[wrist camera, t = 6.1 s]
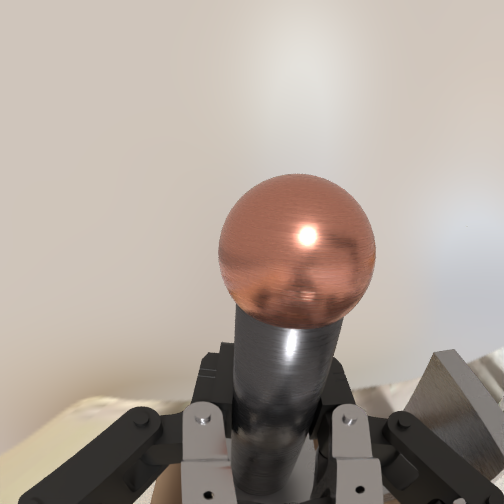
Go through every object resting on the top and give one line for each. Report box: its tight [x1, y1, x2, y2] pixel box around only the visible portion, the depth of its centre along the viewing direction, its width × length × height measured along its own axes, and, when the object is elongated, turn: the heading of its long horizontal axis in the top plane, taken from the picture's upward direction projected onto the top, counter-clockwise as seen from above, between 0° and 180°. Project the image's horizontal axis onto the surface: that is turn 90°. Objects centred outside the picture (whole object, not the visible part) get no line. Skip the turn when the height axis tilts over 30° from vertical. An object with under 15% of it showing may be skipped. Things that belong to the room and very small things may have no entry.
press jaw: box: [218, 174, 504, 504], centre depth 9 cm, size 16×10×17 cm, turn 89°
